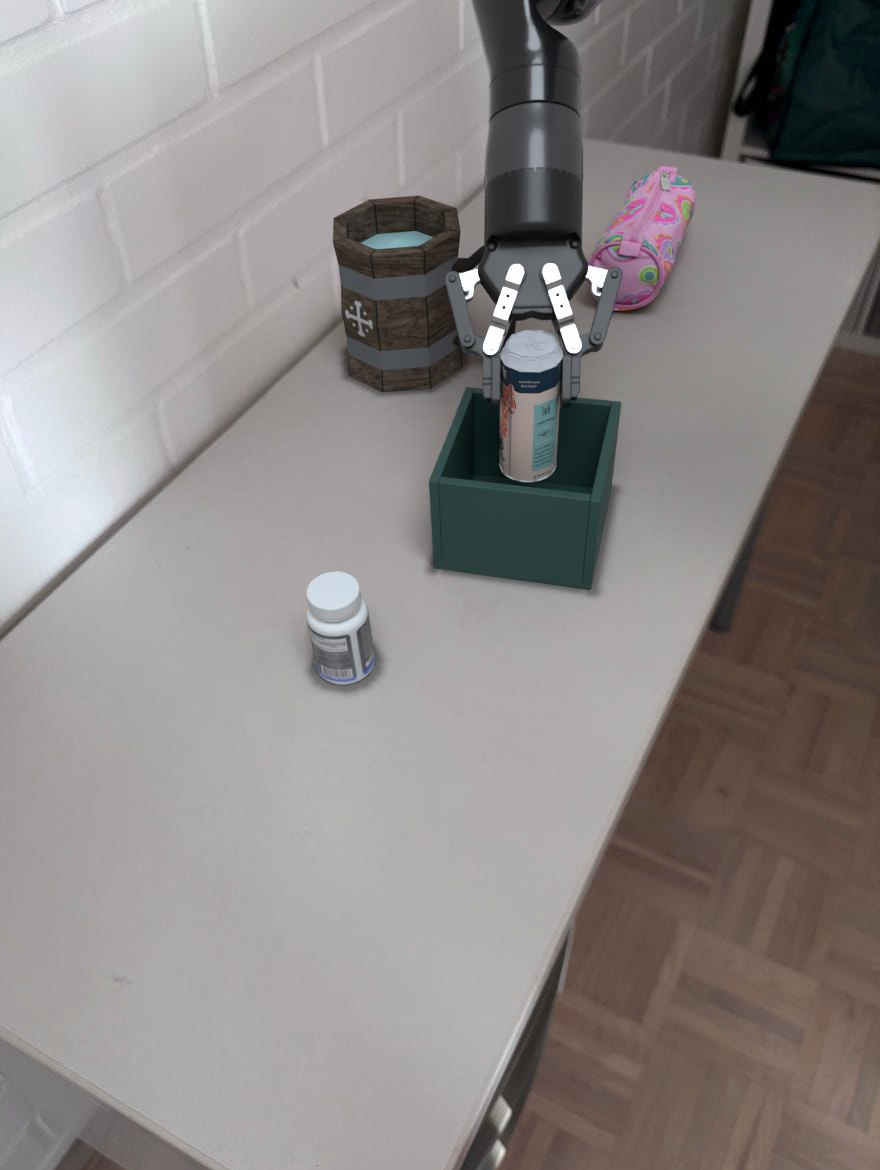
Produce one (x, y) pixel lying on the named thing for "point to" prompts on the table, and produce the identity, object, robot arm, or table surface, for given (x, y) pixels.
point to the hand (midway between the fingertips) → (530, 406)
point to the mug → (400, 291)
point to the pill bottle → (339, 628)
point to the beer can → (530, 405)
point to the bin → (523, 497)
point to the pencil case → (646, 236)
